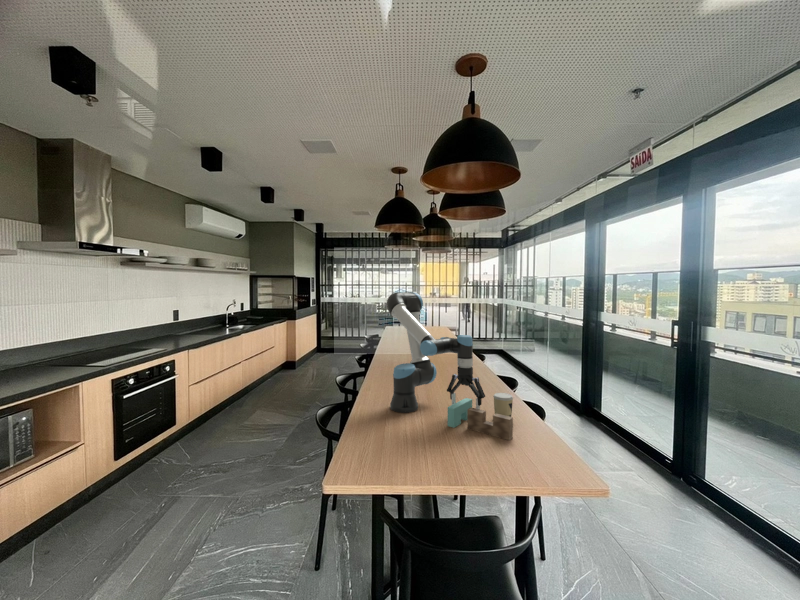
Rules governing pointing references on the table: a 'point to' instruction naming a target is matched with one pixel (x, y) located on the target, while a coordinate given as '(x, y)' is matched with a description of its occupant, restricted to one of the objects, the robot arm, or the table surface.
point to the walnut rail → (490, 424)
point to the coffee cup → (503, 404)
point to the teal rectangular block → (458, 412)
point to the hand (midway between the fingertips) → (465, 408)
